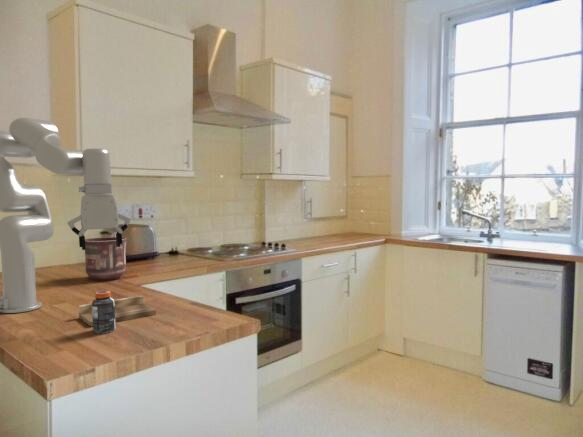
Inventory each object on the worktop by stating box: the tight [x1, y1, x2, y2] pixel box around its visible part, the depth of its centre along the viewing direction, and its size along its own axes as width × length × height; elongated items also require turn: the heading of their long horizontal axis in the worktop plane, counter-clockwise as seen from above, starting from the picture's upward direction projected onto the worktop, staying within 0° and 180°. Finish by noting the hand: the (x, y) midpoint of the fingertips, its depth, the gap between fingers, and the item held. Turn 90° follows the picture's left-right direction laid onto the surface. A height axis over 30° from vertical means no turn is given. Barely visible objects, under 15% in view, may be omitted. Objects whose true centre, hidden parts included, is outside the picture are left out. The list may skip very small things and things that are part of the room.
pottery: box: [84, 236, 128, 282], centre depth 202 cm, size 18×18×18 cm
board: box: [78, 295, 157, 327], centre depth 143 cm, size 20×12×4 cm, turn 130°
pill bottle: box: [91, 290, 116, 334], centre depth 128 cm, size 6×6×11 cm
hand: (101, 248), depth 135 cm, fingers open, 9 cm apart
